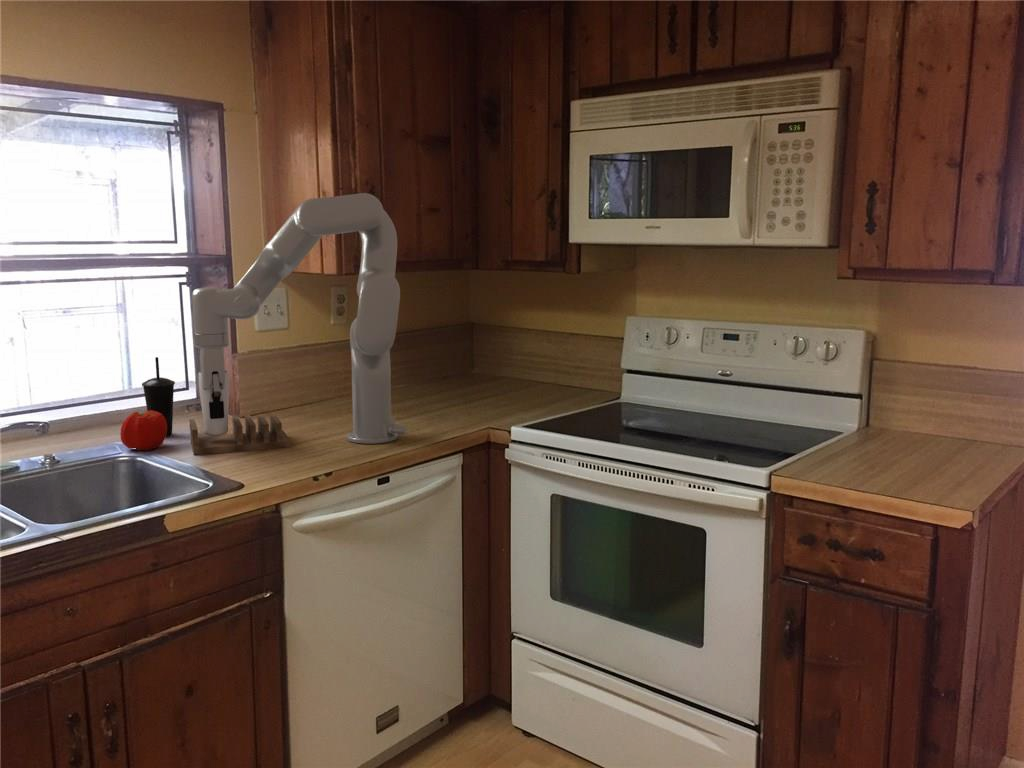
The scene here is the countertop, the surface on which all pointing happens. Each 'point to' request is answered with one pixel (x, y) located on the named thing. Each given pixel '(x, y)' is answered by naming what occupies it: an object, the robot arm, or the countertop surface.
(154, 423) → the tomato
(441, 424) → the countertop surface
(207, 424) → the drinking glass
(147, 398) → the drinking cup
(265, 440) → the rack
